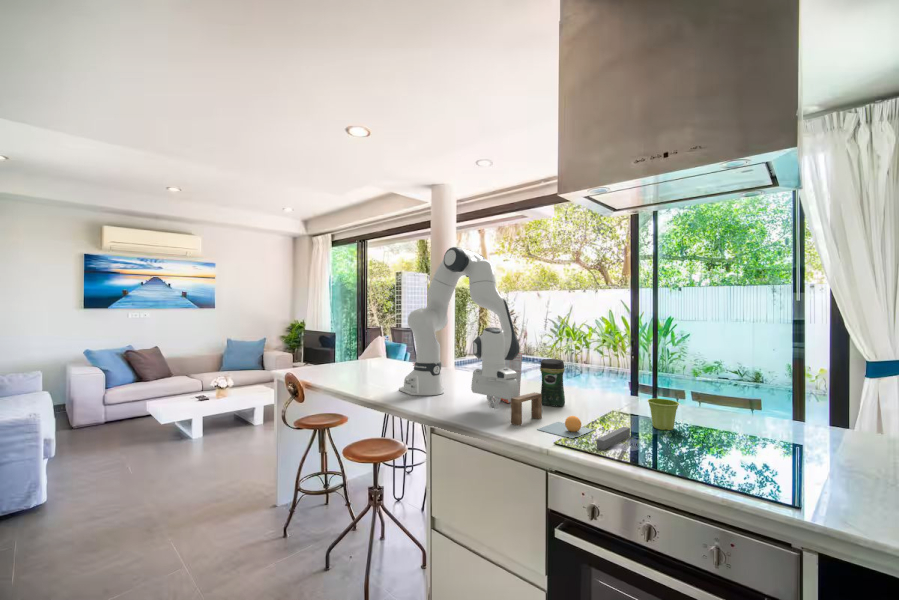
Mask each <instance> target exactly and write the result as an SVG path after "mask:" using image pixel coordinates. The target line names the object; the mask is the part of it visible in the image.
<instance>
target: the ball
mask: <svg viewBox="0 0 899 600" xmlns="http://www.w3.org/2000/svg"><path fill="white" fill-rule="evenodd" d="M564 423H565V426H566V428H567V429H568V430H569V431H570V432H577V431H579V430H580V428H581V427H582V421H581V420H580V418H579V417H577V416H576V415H570V416H568V417H566V419H565V422H564Z"/></svg>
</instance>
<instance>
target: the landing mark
mask: <svg viewBox="0 0 899 600" xmlns="http://www.w3.org/2000/svg"><path fill="white" fill-rule="evenodd" d="M536 430H537V431H539V432H543V433H548V434H552V435H556V436H559V437H562V438H567V437H569V438H568V439H571V438H574V436H575V437H578V438H579V436H580V437H582V436H584V434H585V435H586V433H587V434H589V433H591V432H594V431H595V429H592V428H589V427H588V428H587V427H583V426H581V428H580V430H579V431H577V432H570V431H569V430H568V429H567V428H566V426H565V422H561V421H556V422H553V423H551V424H548V425H545V426H542V427H539V428H536ZM581 435H582V436H581Z"/></svg>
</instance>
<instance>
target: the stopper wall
mask: <svg viewBox="0 0 899 600" xmlns="http://www.w3.org/2000/svg"><path fill="white" fill-rule="evenodd" d="M630 436H631V428H630V427H627V426H622V427H620V428H618V429H616V430H613V431H611V432H609V433H606V434H605V435H603V436H600V437H599V438H597V439H596V449H599V450H603V451H604V450H607V449H608V448H611V447H613V446H615V445H616V444H618V443H620V442H621V441H623V440H626V439H628V438H629V437H630Z"/></svg>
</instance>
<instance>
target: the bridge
mask: <svg viewBox="0 0 899 600" xmlns="http://www.w3.org/2000/svg"><path fill="white" fill-rule="evenodd" d="M528 401H531V402H530V403H531V407H530V408H531V415H530V416H531V418H532V417H533V418H534V419H537V420H539V419H542V417H543V416H542V411H543V409H542V408H543V407H542V406H543V404H542V394H541V392H534V391H533V392H531V393H527V394H522V395H520V396H518V397H514V398H511V403H510V424H511V423H512V424H511V425H514V424H515V425H514V426H518V425H519V426H521V424H523V409H522V408H523V402H528ZM533 418H532V419H533Z"/></svg>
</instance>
